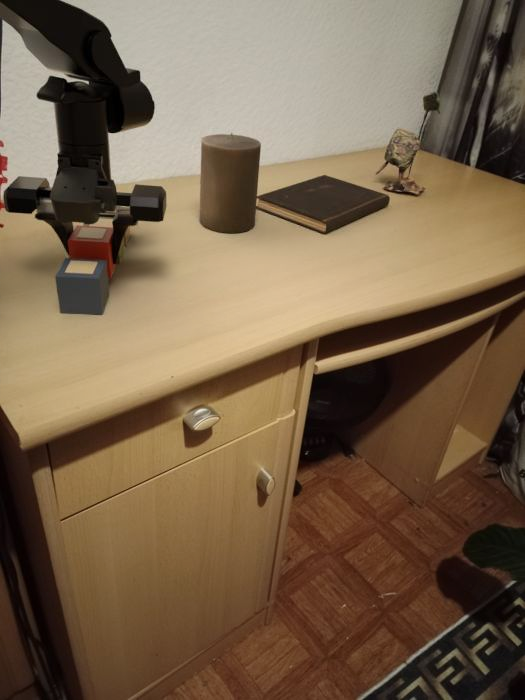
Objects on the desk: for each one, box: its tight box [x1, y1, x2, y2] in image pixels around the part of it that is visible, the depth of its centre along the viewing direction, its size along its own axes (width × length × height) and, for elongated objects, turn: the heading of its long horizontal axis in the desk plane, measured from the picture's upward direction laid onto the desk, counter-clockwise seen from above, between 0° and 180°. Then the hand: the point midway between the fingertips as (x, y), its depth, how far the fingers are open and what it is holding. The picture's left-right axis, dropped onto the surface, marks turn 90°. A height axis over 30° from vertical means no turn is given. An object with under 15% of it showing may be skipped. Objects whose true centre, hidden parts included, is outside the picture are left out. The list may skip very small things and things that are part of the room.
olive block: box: [82, 217, 126, 265], centre depth 78 cm, size 5×5×5 cm
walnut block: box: [99, 211, 131, 248], centre depth 83 cm, size 5×5×5 cm
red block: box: [68, 224, 117, 279], centre depth 71 cm, size 5×5×5 cm
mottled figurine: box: [374, 91, 441, 195], centre depth 114 cm, size 8×11×20 cm
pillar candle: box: [199, 132, 262, 234], centre depth 90 cm, size 10×10×15 cm
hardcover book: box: [256, 174, 391, 235], centre depth 105 cm, size 16×23×2 cm
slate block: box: [55, 257, 110, 316], centre depth 66 cm, size 5×5×5 cm
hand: (94, 261), depth 72 cm, fingers closed on red block, 5 cm apart
